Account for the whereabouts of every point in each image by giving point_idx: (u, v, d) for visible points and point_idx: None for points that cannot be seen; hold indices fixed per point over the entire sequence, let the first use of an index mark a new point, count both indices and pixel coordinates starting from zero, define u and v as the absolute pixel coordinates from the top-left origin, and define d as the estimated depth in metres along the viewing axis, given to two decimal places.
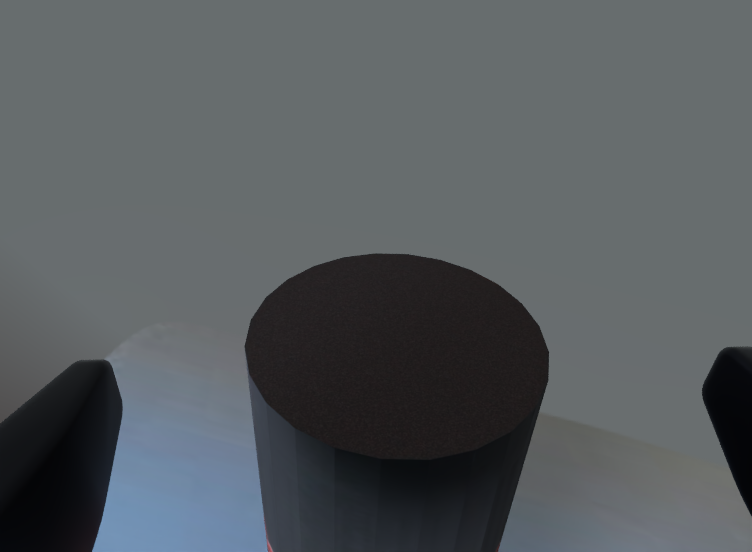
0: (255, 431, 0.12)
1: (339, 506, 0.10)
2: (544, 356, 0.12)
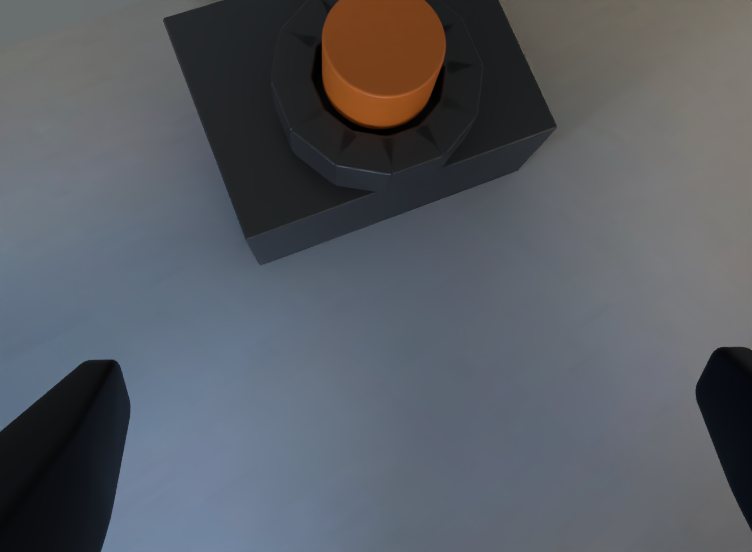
0: None
1: None
2: None
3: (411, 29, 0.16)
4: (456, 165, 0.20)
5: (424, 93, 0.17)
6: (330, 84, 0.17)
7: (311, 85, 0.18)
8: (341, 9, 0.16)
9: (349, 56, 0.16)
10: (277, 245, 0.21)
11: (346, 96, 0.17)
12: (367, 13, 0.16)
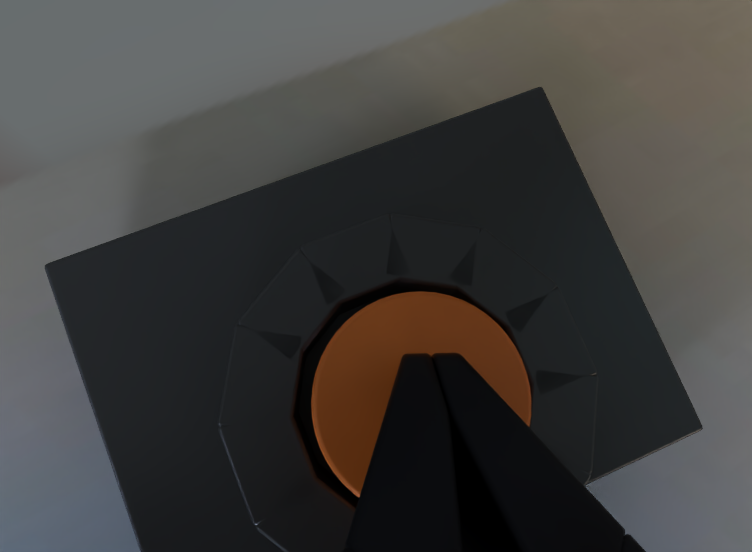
0: None
1: None
2: None
3: None
4: None
5: None
6: None
7: (293, 433, 0.10)
8: (345, 348, 0.09)
9: (361, 441, 0.09)
10: None
11: None
12: (392, 352, 0.09)
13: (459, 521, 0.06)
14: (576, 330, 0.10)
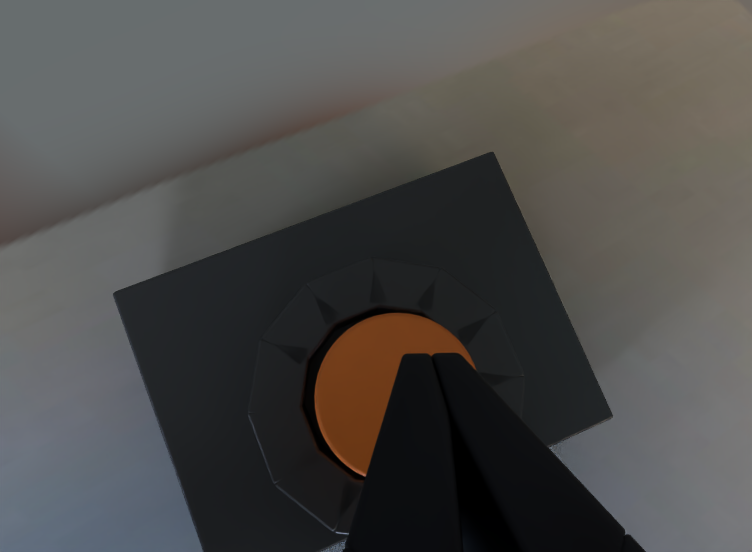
0: None
1: None
2: None
3: None
4: None
5: None
6: None
7: (301, 418, 0.13)
8: (340, 356, 0.12)
9: (351, 426, 0.12)
10: None
11: None
12: (375, 359, 0.12)
13: (459, 521, 0.06)
14: (509, 343, 0.14)
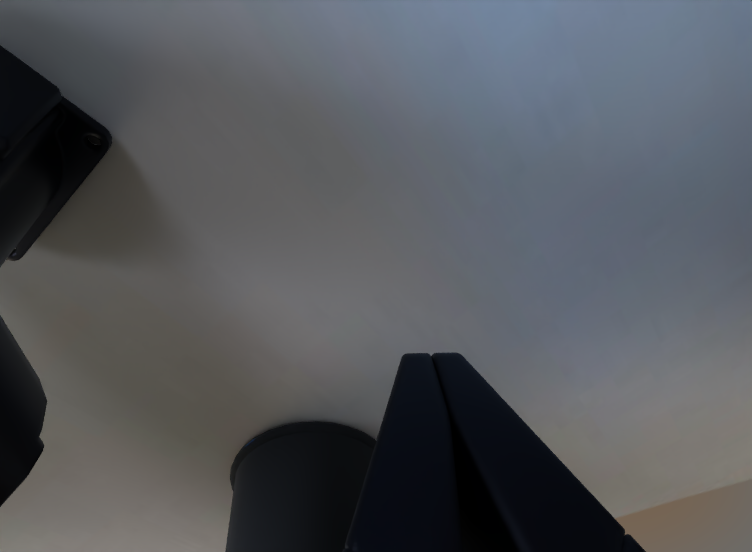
0: None
1: None
2: None
3: None
4: None
5: None
6: None
7: None
8: None
9: None
10: None
11: None
12: None
13: (459, 521, 0.06)
14: None
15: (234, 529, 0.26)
